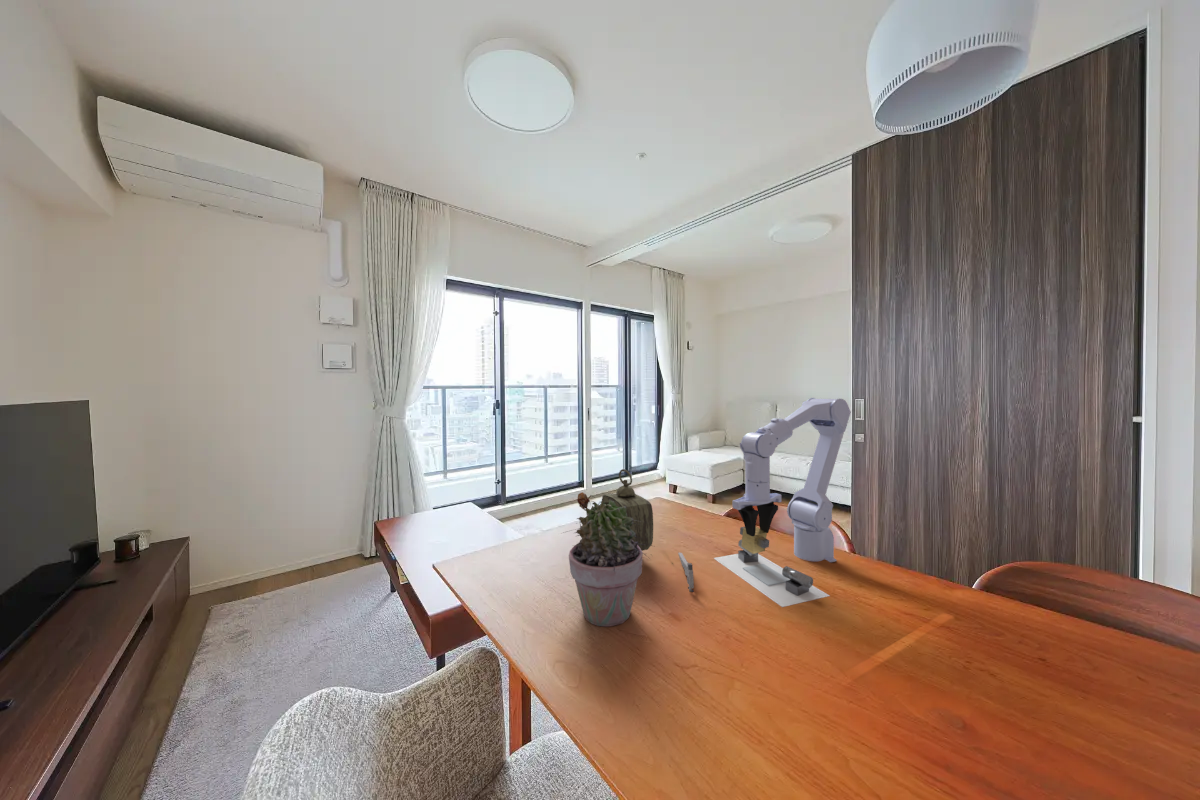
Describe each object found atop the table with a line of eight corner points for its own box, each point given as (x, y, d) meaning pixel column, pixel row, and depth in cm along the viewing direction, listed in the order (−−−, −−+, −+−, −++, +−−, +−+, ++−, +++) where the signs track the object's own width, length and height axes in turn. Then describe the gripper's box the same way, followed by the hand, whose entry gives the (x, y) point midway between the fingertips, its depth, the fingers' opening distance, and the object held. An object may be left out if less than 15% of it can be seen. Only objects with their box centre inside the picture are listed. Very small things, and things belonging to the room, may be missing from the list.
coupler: (747, 540, 107) (749, 522, 106) (771, 555, 99) (773, 536, 99) (735, 542, 105) (737, 524, 104) (759, 558, 98) (761, 538, 97)
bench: (753, 554, 111) (753, 549, 111) (830, 600, 87) (830, 594, 87) (713, 561, 107) (713, 556, 107) (782, 611, 83) (782, 605, 83)
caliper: (694, 593, 92) (693, 567, 91) (689, 593, 92) (689, 567, 91) (681, 555, 112) (680, 533, 112) (677, 555, 112) (677, 533, 112)
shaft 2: (779, 587, 91) (779, 568, 91) (791, 582, 93) (791, 564, 93) (803, 599, 86) (803, 579, 86) (815, 594, 88) (815, 574, 88)
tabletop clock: (601, 552, 114) (600, 466, 113) (629, 546, 118) (628, 463, 117) (626, 573, 101) (624, 476, 100) (656, 566, 105) (654, 472, 104)
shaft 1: (735, 555, 108) (735, 539, 108) (749, 554, 109) (749, 538, 109) (746, 565, 102) (746, 548, 102) (761, 564, 103) (761, 547, 103)
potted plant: (655, 646, 73) (653, 512, 72) (553, 635, 77) (550, 508, 76) (660, 595, 91) (658, 487, 90) (577, 588, 95) (575, 484, 94)
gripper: (766, 473, 107) (766, 523, 107) (723, 480, 101) (724, 532, 101) (788, 479, 100) (788, 532, 101) (744, 486, 94) (744, 542, 95)
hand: (757, 533), depth 101 cm, fingers closed on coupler, 4 cm apart
